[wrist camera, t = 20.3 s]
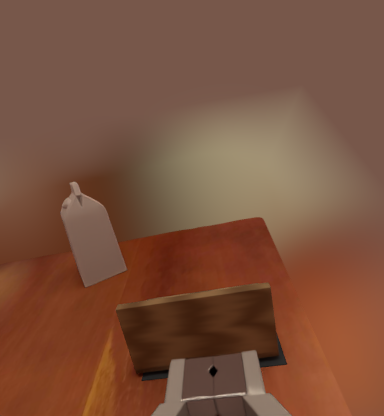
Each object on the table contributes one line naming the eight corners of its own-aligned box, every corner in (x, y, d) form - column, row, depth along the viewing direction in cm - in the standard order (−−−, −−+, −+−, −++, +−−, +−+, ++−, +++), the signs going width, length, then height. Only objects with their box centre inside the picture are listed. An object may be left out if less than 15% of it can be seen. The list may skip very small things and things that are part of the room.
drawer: (260, 301, 56) (252, 243, 52) (279, 359, 43) (270, 287, 39) (152, 316, 58) (136, 261, 54) (137, 377, 44) (115, 309, 41)
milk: (127, 270, 79) (100, 179, 71) (85, 287, 74) (51, 192, 66) (115, 256, 89) (91, 175, 81) (78, 270, 84) (48, 186, 77)
